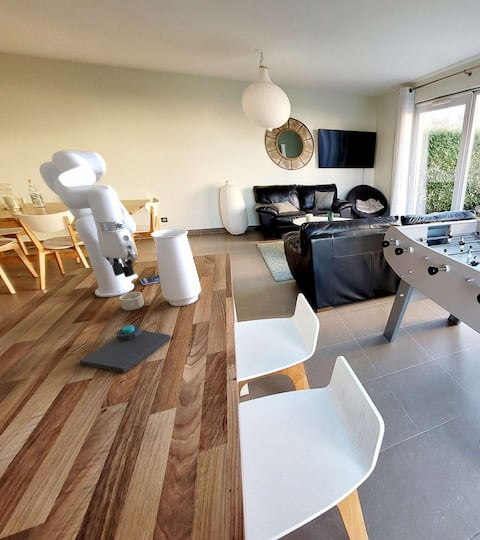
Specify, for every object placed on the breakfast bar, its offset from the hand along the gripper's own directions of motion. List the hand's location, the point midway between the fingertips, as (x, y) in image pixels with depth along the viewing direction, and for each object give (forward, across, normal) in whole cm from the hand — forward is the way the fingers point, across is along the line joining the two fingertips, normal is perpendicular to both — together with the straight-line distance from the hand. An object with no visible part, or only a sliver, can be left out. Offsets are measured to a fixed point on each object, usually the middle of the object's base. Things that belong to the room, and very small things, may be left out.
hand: (124, 274), depth 104 cm
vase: (+13, -14, -9) cm, 21 cm away
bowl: (+13, 0, 0) cm, 13 cm away
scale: (+13, -21, +22) cm, 33 cm away
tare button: (+11, -17, +17) cm, 26 cm away
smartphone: (+13, +10, -24) cm, 29 cm away
